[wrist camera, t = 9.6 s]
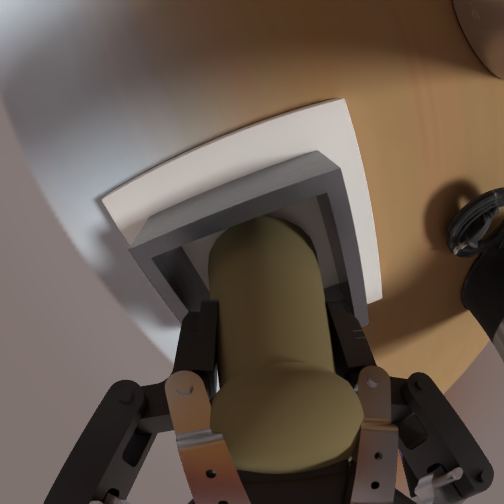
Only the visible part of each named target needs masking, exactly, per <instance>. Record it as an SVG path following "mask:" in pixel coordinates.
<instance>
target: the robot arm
mask: <svg viewBox="0 0 504 504" xmlns="http://www.w3.org/2000/svg"><path fill="white" fill-rule="evenodd" d="M453 4H454V9H455V12H456V15H457V18H458V20H459V23H460V25H461V27H462V30H463V32H464V34H465V36H466V38H467V40H468V42H469V44H470V45H471V47H472V48H473V50H474V52H475V53H476V55H477V56H478V57H479V59H480V60H481V61H482V63H483V64H484V65H485V66H486V67H487V68H488V69H489V70H490V71H491V72H492V73H493V74H494V75H496V76H497V77H499V78H501V79H504V0H453ZM325 304H326V309H327V314H328V320H329V327H330V333H331V340H332V348H333V355H334V363H335V371H336V374H337V375H338V376H340V377H341V378H343V379H345V380H346V381H348V382H349V383H350V385H351V386H352V388H353V390H354V391H355V393H356V394H357V396H358V398H359V400H360V403H361V406H362V410H363V413H364V422H363V423H361V426H360V432H359V435H358V439H357V443H356V447H355V449H354V450H353V452H352V454H351V455H352V457H351V461H350V462H349V460H348V459H345V460H342V461H340V462H337V463H335V464H332V465H329V466H326V467H323V468H320V469H316V470H311V471H306V472H299V473H295V474H292V473H290V474H264V473H257V472H250V471H243V470H236V468H235V466H234V463H233V461H232V458H231V456H230V453H229V450H228V448H227V445H226V443H225V440H224V438H223V435H222V433H221V432H212V431H211V429H210V413H211V405H210V402H209V400H210V399H211V398H212V397H213V396H214V395H215V394H216V387H217V362H216V345H217V319H218V300H202V301H201V307H200V312H198V311H189V312H188V313H187V315H186V316H185V317H184V318H183V320H182V325H181V331H180V335H179V341H178V346H177V351H176V357H175V363H174V368H173V371H172V373H171V375H170V376H169V377H168V378H167V379H166V380H165V381H163V382H161V383H158V384H153V385H147V386H141V387H140V385H138V384H137V383H136V382H134V381H131V380H121V381H118V382H116V383H114V384H113V385H112V386H111V387H110V389H109V390H108V392H107V393H106V395H105V396H104V398H103V400H102V401H101V403H100V405H99V406H98V408H97V409H96V411H95V413H94V414H93V416H92V418H91V419H90V421H89V423H88V424H87V426H86V428H85V429H84V431H83V433H82V434H81V436H80V438H79V439H78V441H77V443H76V444H75V446H74V448H73V450H72V451H71V453H70V455H69V457H68V459H67V460H66V462H65V464H64V466H63V467H62V469H61V471H60V473H59V475H58V477H57V478H56V480H55V482H54V484H53V486H52V488H51V490H50V492H49V494H48V495H47V498H46V499H45V501H44V504H130V503H129V502H127V501H126V498H127V496H128V494H129V492H130V490H131V488H132V486H133V483H134V481H135V479H136V477H137V475H138V473H139V471H140V469H141V467H142V465H143V463H144V460H145V458H146V456H147V454H148V452H149V450H150V448H151V446H152V443H153V442H154V440H155V438H156V435H157V433H159V432H165V431H171V430H174V431H175V435H176V444H177V448H178V452H179V456H180V459H181V462H182V466H183V469H184V472H185V475H186V479H187V482H188V484H189V488H190V490H191V493H192V496H193V499H192V500H191V501H190V502H189V503H188V504H417V503H416V502H414V501H413V500H411V499H410V498H408V497H407V496H405V495H404V494H403V493H401V492H400V491H398V490H397V489H396V488H395V483H396V472H397V456H398V448H399V450H400V451H401V453H402V455H403V456H404V458H405V459H406V461H407V463H408V464H409V466H410V468H411V469H412V471H413V472H414V474H415V476H416V477H417V479H418V481H419V482H418V485H417V487H416V488H415V494H416V495H417V496H419V504H462V503H463V502H464V501H465V500H466V499H467V498H469V497H471V496H474V495H476V494H478V493H481V492H483V491H485V490H486V489H487V488H489V486H490V485H491V483H492V481H493V477H494V471H493V468H492V466H491V464H490V463H489V461H488V460H487V458H486V456H485V455H484V453H483V451H482V450H481V448H480V447H479V445H478V444H477V442H476V441H475V439H474V438H473V436H472V435H471V433H470V432H469V430H468V429H467V427H466V426H465V424H464V423H463V422H462V420H461V419H460V417H459V416H458V415H457V413H456V412H455V410H454V409H453V408H452V407H451V405H450V403H449V402H448V401H447V399H446V398H445V397H444V395H443V394H442V392H441V391H440V390H439V388H438V387H437V386H436V384H435V383H434V382H433V381H432V379H431V378H430V377H429V376H428V375H426V374H424V373H421V372H416V373H413V374H412V375H411V376H410V377H409V378H408V379H403V378H395V377H390V376H389V375H388V373H387V372H386V371H385V370H384V369H382V368H381V367H378V366H377V365H376V363H375V360H374V357H373V355H372V352H371V350H370V347H369V345H368V342H367V340H366V339H365V335H364V332H363V331H362V328H361V325H360V323H359V320H358V319H357V318H356V317H355V316H354V315H353V314H352V313H346V312H345V309H344V307H343V304H342V303H341V302H325ZM413 413H415V415H416V416H417V417H418V419H419V420H420V422H421V423H422V425H423V426H424V428H425V429H426V431H427V433H428V434H427V433H426V432H425V430H424V429H423V427H422V426H421V424H420V423H419V421H418V420H417V418H416V417H415V415H414V414H413Z"/></svg>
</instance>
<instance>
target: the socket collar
mask: <svg viewBox="0 0 504 504" xmlns="http://www.w3.org/2000/svg"><path fill="white" fill-rule="evenodd" d="M315 196H316V197H317V201H318V204H319V207H320V211H321V214H322V218H323V221H324V225H325V229H326V232H327V236H328V240H329V244H330V247H331V251H332V255H333V259H334V263H335V267H336V271H337V276H338V280H339V283H338V284H336V285H333V286H330V287H327V288H324V289H323V290H324V296H325V302H341V303H342V304H343V307H344V309H345V312H346V313H352V314H353V315H354V316H355V317H356V318H357V319H358V320H359V323H360V325H361V328H362V327H365V326H367V325H369V317H368V308H367V300H366V292H365V285H364V278H363V271H362V265H361V259H360V253H359V247H358V242H357V237H356V232H355V227H354V222H353V217H352V212H351V208H350V203H349V199H348V195H347V191H346V187H345V183H344V179H343V175H342V171H341V168H340V167H339V166H338V165H336V164H335V163H334V162H333V161H331V160H330V159H329V158H327V157H326V156H325V155H323V154H322V153H321V152H320V151H318V150H316V151H313V152H310V153H307V154H304V155H301V156H298V157H295V158H292V159H289V160H287V161H284V162H281V163H278V164H275V165H272V166H270V167H267V168H264V169H261V170H259V171H256V172H253V173H251V174H248V175H246V176H243V177H240V178H238V179H235V180H233V181H230V182H228V183H225V184H223V185H220V186H218V187H215V188H213V189H210V190H208V191H206V192H203V193H201V194H199V195H196V196H194V197H192V198H189V199H187V200H185V201H182V202H180V203H178V204H176V205H173V206H171V207H169V208H167V209H165V210H162V211H160V212H158V213H156V214H154V215H152V216H150V217H149V218H148V219H147V221H146V223H145V224H144V226H143V227H142V229H141V230H140V232H139V233H138V235H137V237H136V238H135V240H134V241H133V243H132V245H131V246H130V248H129V252H130V253H131V255H132V256H133V258H134V259H135V261H136V262H137V264H138V265H139V266H140V268H141V269H142V271H143V272H144V274H145V275H146V276H147V278H148V279H149V281H150V282H151V283H152V285H153V286H154V288H155V289H156V290H157V292H158V293H159V294H160V296H161V297H162V298H163V300H164V301H165V302H166V304H167V305H168V306H169V308H170V309H171V310H172V312H173V313H174V314H175V316H176V317H177V318H178V319H179V321H180V322H181V323H182V320H183V318H184V317H185V316H186V315H187V313H188V312H189V311H198V312H200V307H201V301H202V300H210V292H209V290H208V289H207V287H206V285H205V284H204V282H203V281H202V279H201V277H200V276H199V274H198V273H197V271H196V269H195V268H194V266H193V264H192V263H191V261H190V260H189V258H188V256H187V255H186V253H185V251H184V250H183V248H182V245H185V244H188V243H190V242H193V241H195V240H198V239H200V238H203V237H206V236H208V235H211V234H213V233H216V232H219V231H221V230H224V229H227V228H229V227H232V226H235V225H237V224H240V223H243V222H245V221H248V220H251V219H253V218H256V217H259V216H262V215H264V214H267V213H270V212H273V211H275V210H278V209H281V208H284V207H287V206H289V205H292V204H295V203H298V202H301V201H304V200H307V199H309V198H312V197H315Z"/></svg>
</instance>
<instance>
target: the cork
mask: <svg viewBox="0 0 504 504" xmlns="http://www.w3.org/2000/svg"><path fill="white" fill-rule="evenodd" d="M208 277H209V289H210V300H218V319H217V345H216V362H217V370H218V378H219V386H220V390H219V391H218V392H217V393H216V394H215V395H214V396H213V397H212V398H211V399H210V400H209V402H210V405H211V413H210V429H211V431H212V432H221V433H222V435H223V438H224V440H225V443H226V445H227V448H228V450H229V453H230V456H231V458H232V461H233V463H234V466H235V468H236V470H243V471H250V472H257V473H264V474H290V473H292V474H295V473H299V472H306V471H311V470H316V469H320V468H323V467H326V466H329V465H332V464H335V463H337V462H340V461H342V460H345V459H348V460H349V462H350V461H351V457H352V455H351V454H352V452H353V450H354V449H355V447H356V443H357V439H358V435H359V432H360V426H361V423H363V422H364V413H363V410H362V406H361V403H360V400H359V398H358V396H357V394H356V393H355V391H354V390H353V388H352V386H351V385H350V383H349V382H348V381H346V380H345V379H343V378H341V377H340V376H338V375H337V374H336V371H335V363H334V355H333V348H332V340H331V333H330V327H329V320H328V314H327V309H326V304H325V296H324V290H323V284H322V279H321V273H320V268H319V263H318V257H317V252H316V249H315V247H314V245H313V242H312V240H311V238H310V237H309V236H308V235H307V234H306V233H305V232H304V231H303V230H302V229H301V228H300V227H299V226H297V225H295V224H293V223H291V222H289V221H287V220H285V219H281V218H274V217H267V216H263V217H256V218H253V219H251V220H248V221H245V222H243V223H240V224H237V225H235V226H232V227H229V228H228V229H226V230H225V231H224V232H223V233H222V234H221V235H220V236H219V237H218V238H217V239H216V241H215V243H214V245H213V247H212V249H211V251H210V253H209V261H208Z"/></svg>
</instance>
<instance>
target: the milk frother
mask: <svg viewBox="0 0 504 504" xmlns="http://www.w3.org/2000/svg"><path fill="white" fill-rule="evenodd" d="M502 206H504V188H498V189H495V190H491V191H488V192H486V193H484V194H482V195H480V196H478V197H476V198H475V199H473V200H472V201H470V202H469V203H468V204H467V205H465V206H464V207H463V208H462V209H461V210H460V211H459V212H458V213H457V215H456V216H455V217H454V219H453V220H452V222H451V223H450V225H449V227H448V230H447V233H446V243H447V245H448V247H449V249H450V251H451V252H452V253H453V254H454V255H457V256H459V257H471V256H474V255H476V254H478V253H481V252H482V251H484V250H485V251H484V252H483V253H482V255H481V256H480V257H479V259H478V260H477V261H476V263H475V264H474V266H473V267H472V269H471V271H470V272H469V274H468V276H467V279H466V281H465V283H464V287H463V289H462V295H461V301H462V304H463V306H464V307H465V308H466V309H468V310H470V312H471V313H472V314H473V316H474V317H475V318H476V319H477V321H478V322H479V324H480V325H481V326H482V328H483V329H484V331H485V332H486V333H487V335H488V336H489V338H490V340H491V341H492V343H493V344H494V346H495V347H496V349H497V351H498V353H499V355H500V356H501V358H502V360H503V362H504V220H503V221H502V223H501V224H500V225H499V226H498V227H497V229H495V230H494V231H493V232H492V233H491V234H489V235H488V236H486V237H485V238H483V239H481V238H482V237H483V235H484V234H485V233H486V231H487V230H488V228H489V226H490V225H491V221H492V219H493V218H494V216H495V215H496V214H497V213H499V207H502ZM480 239H481V240H480Z"/></svg>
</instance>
